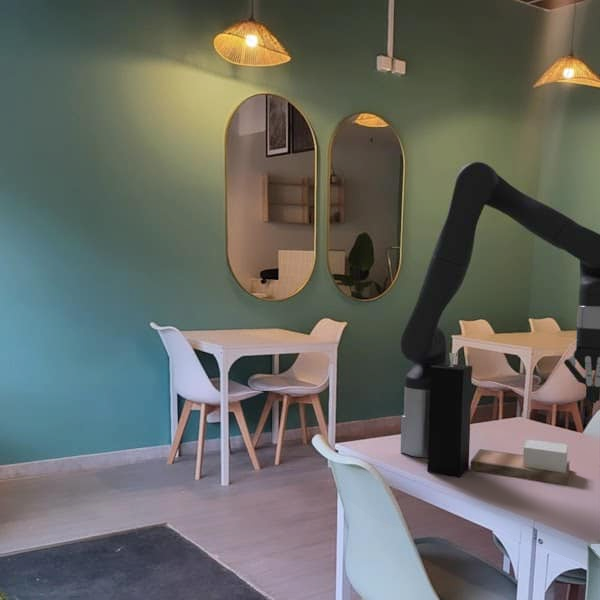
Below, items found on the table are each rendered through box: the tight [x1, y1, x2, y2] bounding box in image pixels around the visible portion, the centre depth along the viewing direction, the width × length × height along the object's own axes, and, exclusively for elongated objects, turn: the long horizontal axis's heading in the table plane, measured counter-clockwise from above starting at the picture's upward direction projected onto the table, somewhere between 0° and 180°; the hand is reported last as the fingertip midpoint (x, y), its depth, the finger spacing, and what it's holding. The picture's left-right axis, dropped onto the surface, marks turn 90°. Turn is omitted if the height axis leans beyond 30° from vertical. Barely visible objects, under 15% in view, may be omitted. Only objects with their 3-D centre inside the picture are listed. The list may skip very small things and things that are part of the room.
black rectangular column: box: [426, 352, 473, 478], centre depth 140 cm, size 8×8×28 cm
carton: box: [522, 439, 569, 473], centre depth 139 cm, size 9×8×4 cm
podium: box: [470, 448, 570, 486], centre depth 142 cm, size 21×12×2 cm, turn 63°
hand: (592, 402), depth 135 cm, fingers closed
